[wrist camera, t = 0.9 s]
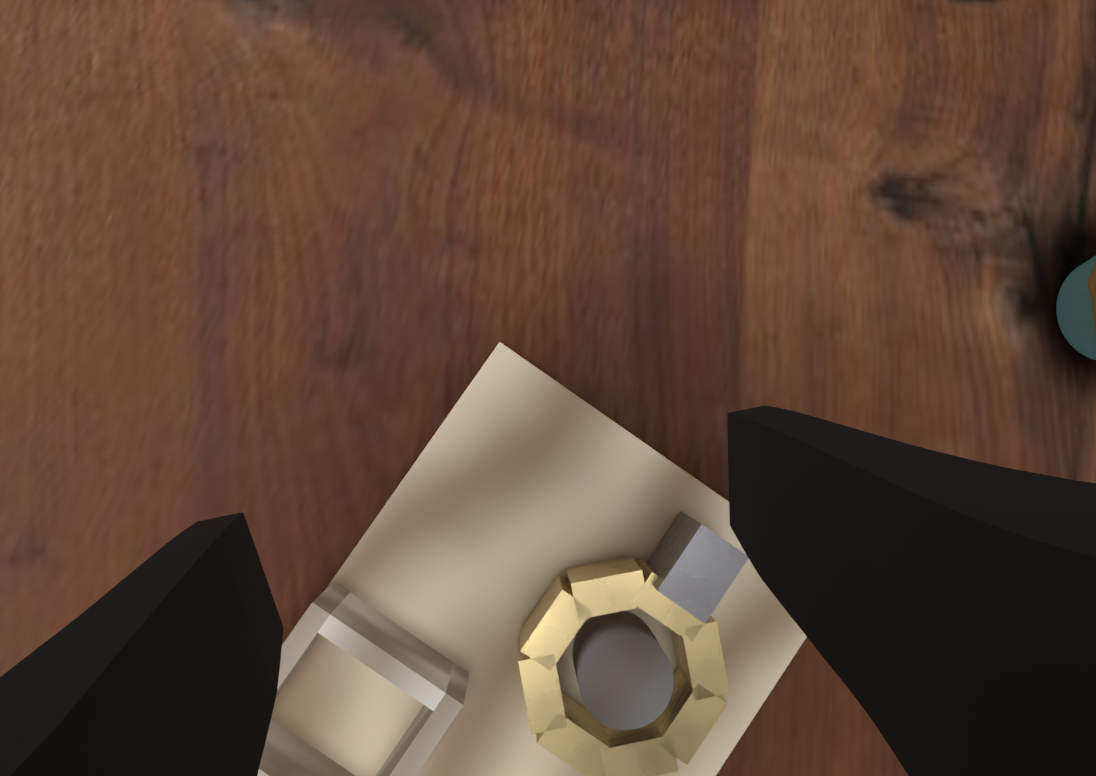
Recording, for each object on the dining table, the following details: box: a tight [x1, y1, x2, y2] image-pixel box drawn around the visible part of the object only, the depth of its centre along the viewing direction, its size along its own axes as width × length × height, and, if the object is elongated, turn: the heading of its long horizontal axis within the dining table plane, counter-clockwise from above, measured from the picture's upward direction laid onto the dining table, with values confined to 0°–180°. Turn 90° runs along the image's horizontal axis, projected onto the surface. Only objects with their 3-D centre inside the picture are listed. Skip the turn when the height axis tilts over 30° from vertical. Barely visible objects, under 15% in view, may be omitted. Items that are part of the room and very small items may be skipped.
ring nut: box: [518, 511, 748, 776], centre depth 27 cm, size 8×10×3 cm
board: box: [257, 342, 807, 776], centre depth 27 cm, size 18×19×4 cm
